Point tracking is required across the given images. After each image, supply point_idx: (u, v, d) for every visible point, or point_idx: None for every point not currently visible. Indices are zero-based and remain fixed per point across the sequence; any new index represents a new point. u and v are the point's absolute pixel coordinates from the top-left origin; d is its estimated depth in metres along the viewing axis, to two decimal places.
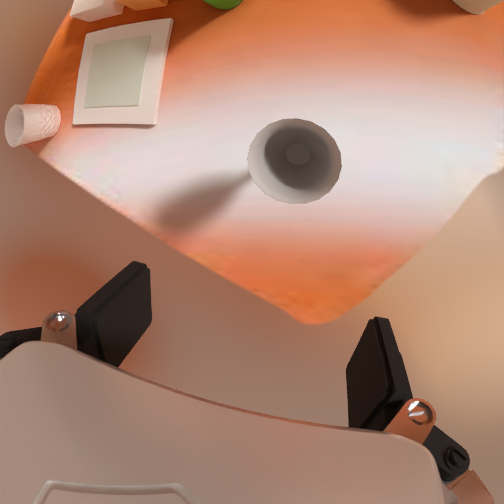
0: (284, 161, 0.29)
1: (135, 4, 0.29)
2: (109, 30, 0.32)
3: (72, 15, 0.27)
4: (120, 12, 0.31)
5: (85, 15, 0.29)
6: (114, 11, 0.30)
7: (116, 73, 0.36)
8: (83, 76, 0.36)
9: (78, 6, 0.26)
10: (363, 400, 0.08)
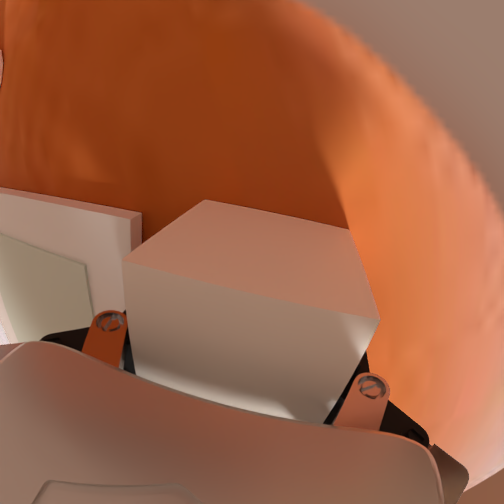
0: None
1: None
2: None
3: None
4: None
5: None
6: None
7: (39, 323, 0.16)
8: (20, 219, 0.13)
9: (179, 336, 0.07)
10: None
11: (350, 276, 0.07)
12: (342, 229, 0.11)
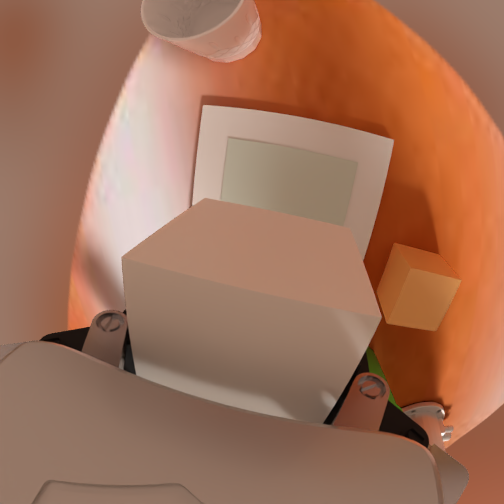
0: None
1: (395, 269, 0.25)
2: (375, 198, 0.25)
3: None
4: None
5: None
6: None
7: None
8: (296, 132, 0.24)
9: (179, 334, 0.07)
10: None
11: (351, 274, 0.07)
12: (343, 227, 0.11)
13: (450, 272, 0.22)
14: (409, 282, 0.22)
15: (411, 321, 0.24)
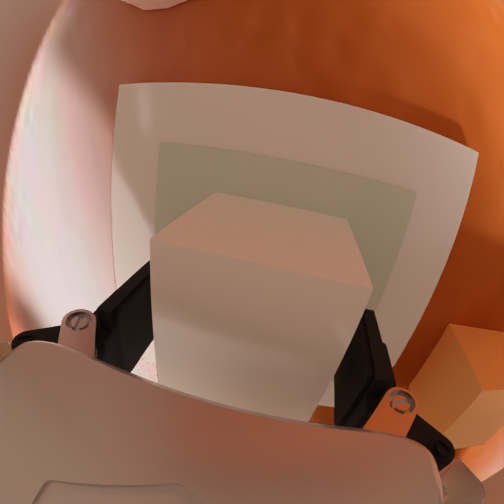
0: None
1: (449, 374, 0.13)
2: (438, 260, 0.12)
3: None
4: None
5: None
6: None
7: None
8: (294, 127, 0.11)
9: (199, 307, 0.08)
10: (348, 390, 0.09)
11: (347, 255, 0.08)
12: (340, 219, 0.12)
13: None
14: (473, 407, 0.10)
15: (457, 444, 0.11)
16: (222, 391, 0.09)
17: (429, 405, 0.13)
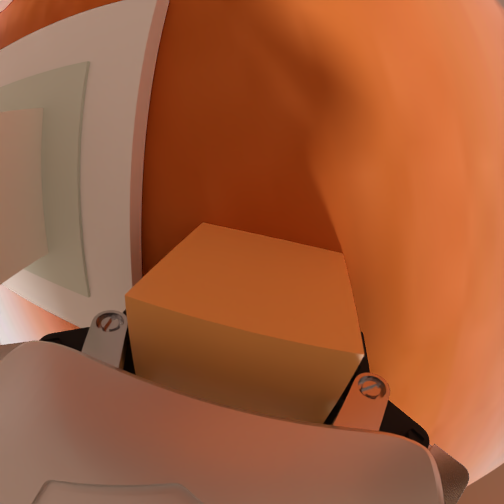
0: None
1: None
2: (123, 120, 0.10)
3: None
4: None
5: None
6: None
7: None
8: (25, 56, 0.09)
9: None
10: None
11: None
12: (37, 108, 0.10)
13: (333, 318, 0.07)
14: (143, 340, 0.07)
15: None
16: None
17: None
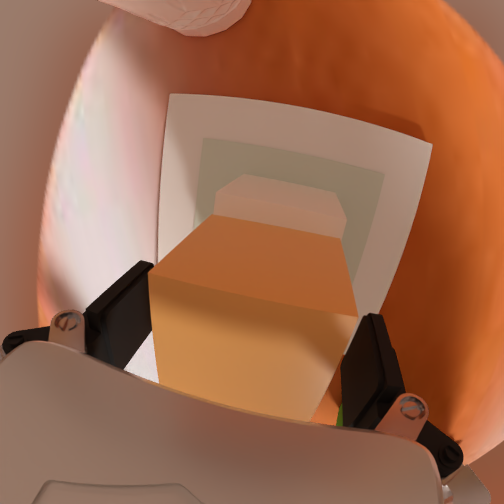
0: None
1: None
2: (405, 223, 0.18)
3: None
4: None
5: None
6: None
7: None
8: (298, 129, 0.17)
9: None
10: (357, 395, 0.08)
11: (332, 207, 0.14)
12: (330, 192, 0.17)
13: (330, 288, 0.08)
14: (163, 314, 0.08)
15: None
16: None
17: None
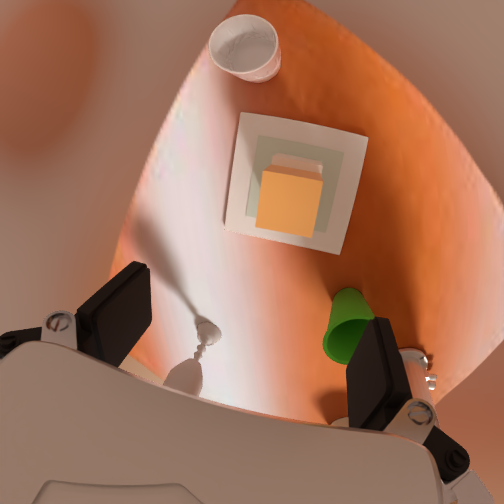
0: (186, 361, 0.45)
1: None
2: (356, 176, 0.37)
3: None
4: None
5: None
6: None
7: None
8: (303, 132, 0.36)
9: None
10: (364, 400, 0.08)
11: (318, 163, 0.34)
12: (318, 161, 0.37)
13: (315, 178, 0.28)
14: (265, 184, 0.28)
15: (279, 225, 0.30)
16: None
17: None
